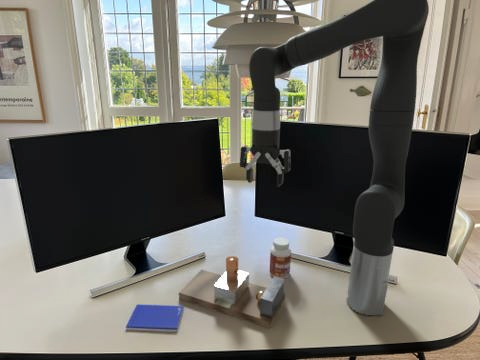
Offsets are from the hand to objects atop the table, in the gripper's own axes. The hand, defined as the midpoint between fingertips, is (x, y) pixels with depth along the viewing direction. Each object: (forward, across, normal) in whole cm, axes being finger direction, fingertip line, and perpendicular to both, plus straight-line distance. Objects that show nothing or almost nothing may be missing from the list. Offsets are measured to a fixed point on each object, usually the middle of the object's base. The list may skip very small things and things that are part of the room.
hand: (264, 183), depth 97 cm
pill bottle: (+29, -6, 0) cm, 29 cm away
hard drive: (+29, +17, +31) cm, 46 cm away
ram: (+26, +3, +16) cm, 31 cm away
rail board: (+28, +3, +16) cm, 33 cm away
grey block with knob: (+26, -7, +17) cm, 32 cm away
